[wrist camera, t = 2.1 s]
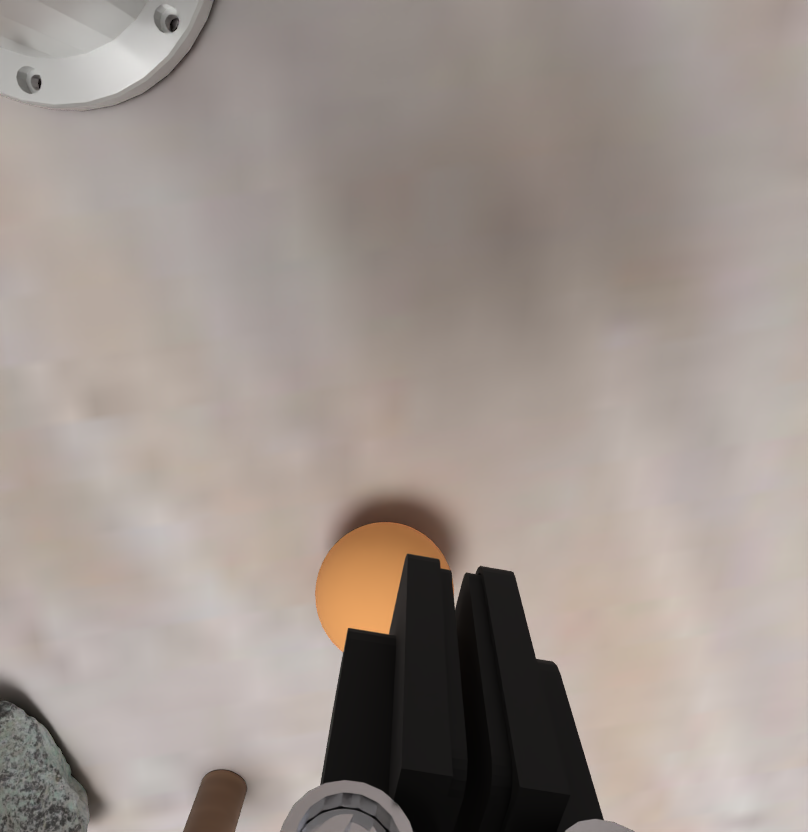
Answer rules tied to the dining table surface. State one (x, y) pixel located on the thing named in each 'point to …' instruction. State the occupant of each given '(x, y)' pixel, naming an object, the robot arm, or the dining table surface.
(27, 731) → the stone
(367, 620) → the ball
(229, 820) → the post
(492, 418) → the dining table surface
